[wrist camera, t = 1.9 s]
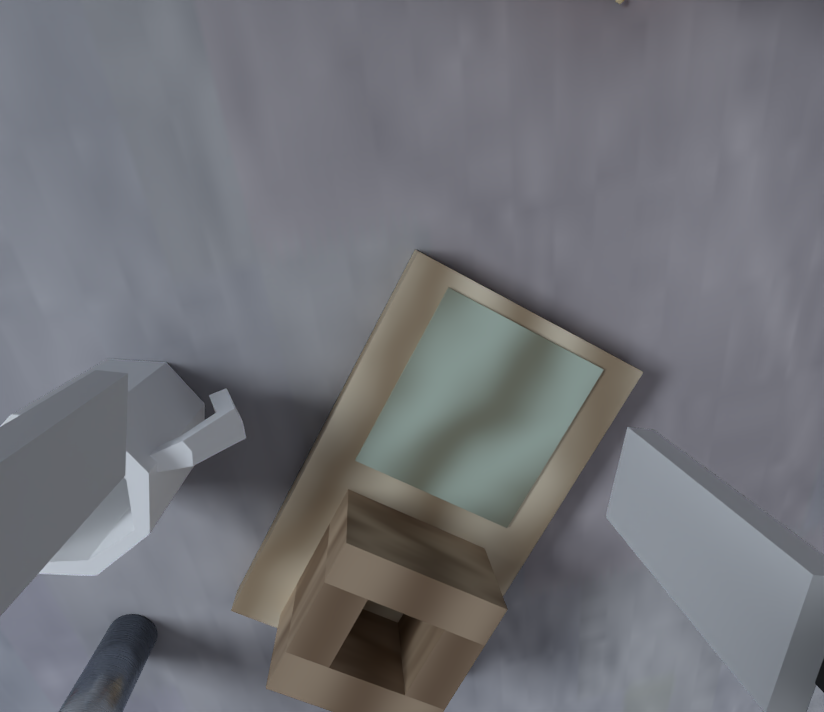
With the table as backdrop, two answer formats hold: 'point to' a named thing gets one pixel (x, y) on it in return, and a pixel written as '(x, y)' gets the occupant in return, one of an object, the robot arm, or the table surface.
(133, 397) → the mug
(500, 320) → the square hole base block
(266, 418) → the table surface
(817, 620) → the robot arm
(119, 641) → the cylindrical pin
